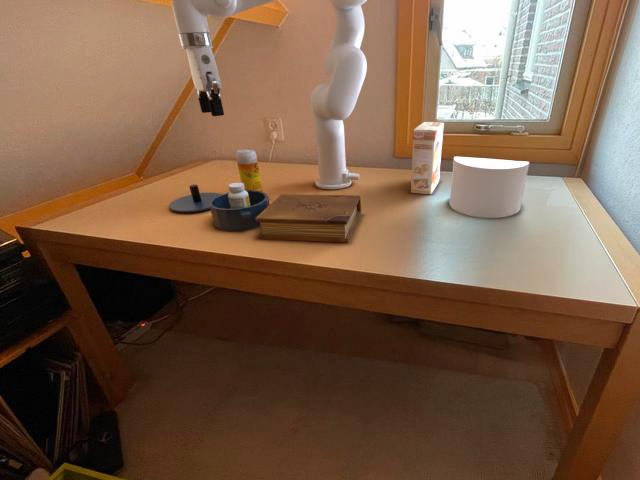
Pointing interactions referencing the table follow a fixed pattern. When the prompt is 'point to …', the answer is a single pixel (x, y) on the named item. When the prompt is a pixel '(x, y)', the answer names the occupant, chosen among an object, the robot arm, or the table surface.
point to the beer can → (249, 169)
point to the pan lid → (193, 201)
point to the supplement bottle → (238, 196)
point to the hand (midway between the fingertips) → (212, 113)
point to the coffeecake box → (426, 157)
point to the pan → (238, 212)
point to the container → (487, 186)
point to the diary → (310, 217)
